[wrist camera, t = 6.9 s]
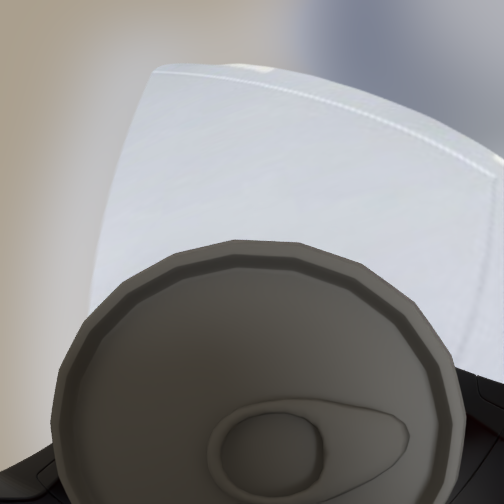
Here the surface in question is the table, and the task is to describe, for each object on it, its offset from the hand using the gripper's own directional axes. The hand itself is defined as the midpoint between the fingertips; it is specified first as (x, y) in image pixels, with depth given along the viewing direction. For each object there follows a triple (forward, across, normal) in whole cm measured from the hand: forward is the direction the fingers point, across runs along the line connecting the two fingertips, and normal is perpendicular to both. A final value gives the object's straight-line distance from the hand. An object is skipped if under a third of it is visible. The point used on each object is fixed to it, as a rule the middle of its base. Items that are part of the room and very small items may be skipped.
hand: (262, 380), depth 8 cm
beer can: (+4, 0, +6) cm, 7 cm away
